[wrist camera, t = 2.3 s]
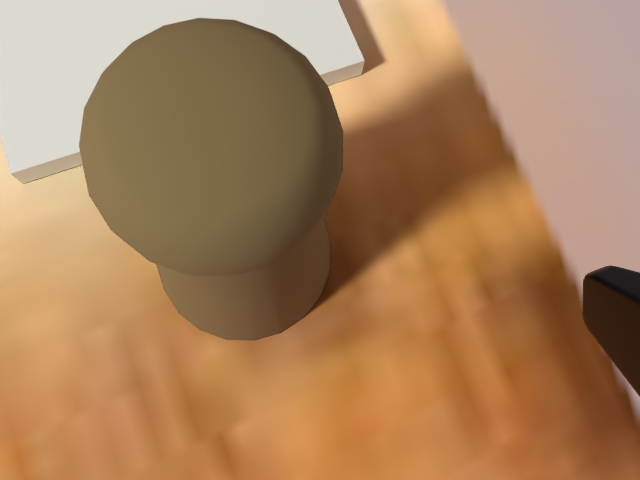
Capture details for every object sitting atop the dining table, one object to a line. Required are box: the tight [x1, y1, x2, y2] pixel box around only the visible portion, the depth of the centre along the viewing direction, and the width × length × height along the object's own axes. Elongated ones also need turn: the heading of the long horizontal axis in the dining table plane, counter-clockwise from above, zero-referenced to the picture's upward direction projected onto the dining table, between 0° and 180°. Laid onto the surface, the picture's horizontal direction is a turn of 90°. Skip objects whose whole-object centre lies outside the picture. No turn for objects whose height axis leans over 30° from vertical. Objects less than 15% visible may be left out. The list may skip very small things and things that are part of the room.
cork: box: [79, 18, 343, 340], centre depth 16 cm, size 6×6×11 cm
